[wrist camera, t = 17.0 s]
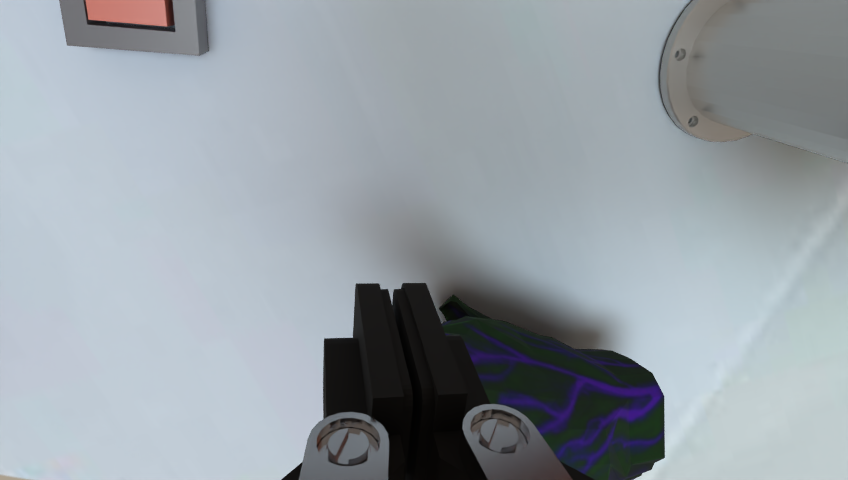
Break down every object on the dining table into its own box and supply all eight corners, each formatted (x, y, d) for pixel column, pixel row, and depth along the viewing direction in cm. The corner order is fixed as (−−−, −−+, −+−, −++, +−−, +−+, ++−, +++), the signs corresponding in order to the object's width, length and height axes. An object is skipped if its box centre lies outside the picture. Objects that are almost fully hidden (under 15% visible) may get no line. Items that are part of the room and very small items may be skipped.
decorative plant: (493, 368, 61) (226, 382, 46) (655, 228, 45) (322, 174, 29) (567, 569, 49) (241, 678, 34) (824, 478, 33) (417, 610, 17)
